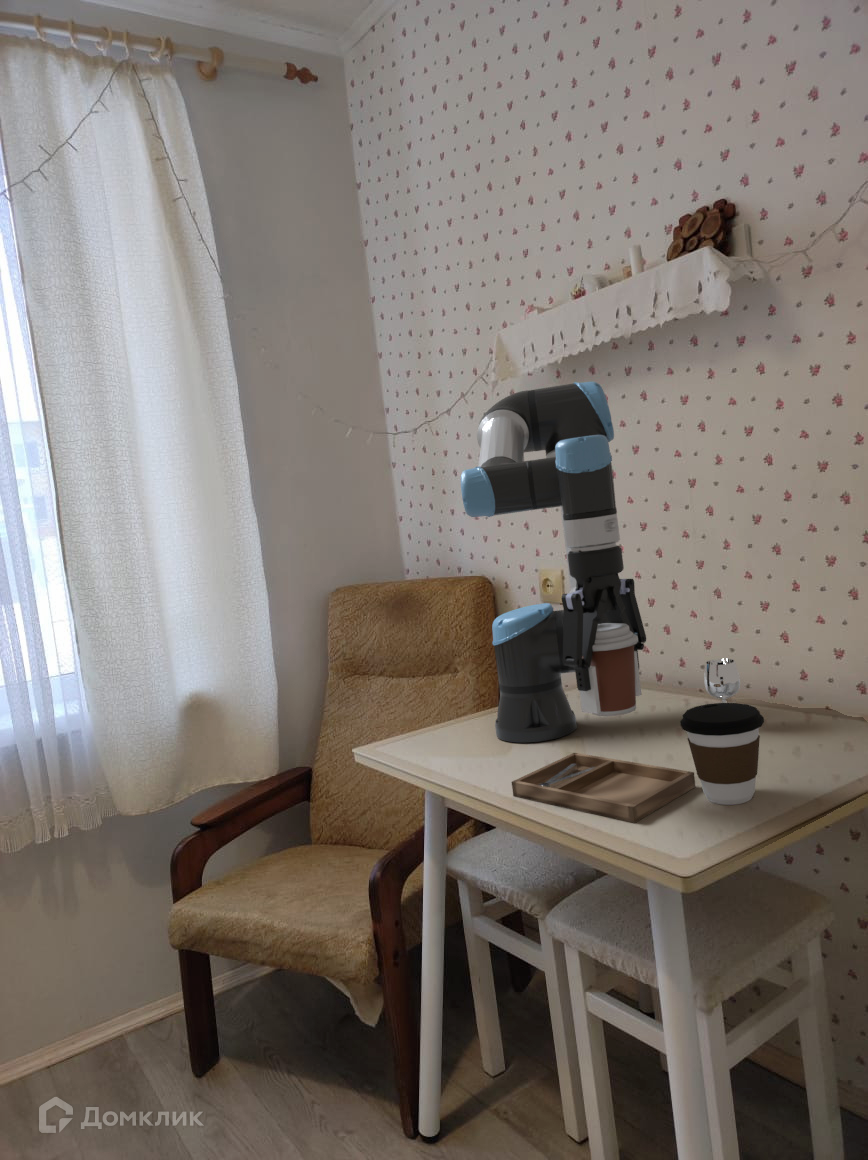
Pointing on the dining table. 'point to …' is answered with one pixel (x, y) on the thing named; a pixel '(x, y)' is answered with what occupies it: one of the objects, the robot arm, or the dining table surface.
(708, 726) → the coffee cup
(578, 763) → the walnut caddy
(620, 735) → the dining table surface
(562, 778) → the steel tongs
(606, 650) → the coffee cup
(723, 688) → the wineglass
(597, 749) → the dining table surface
